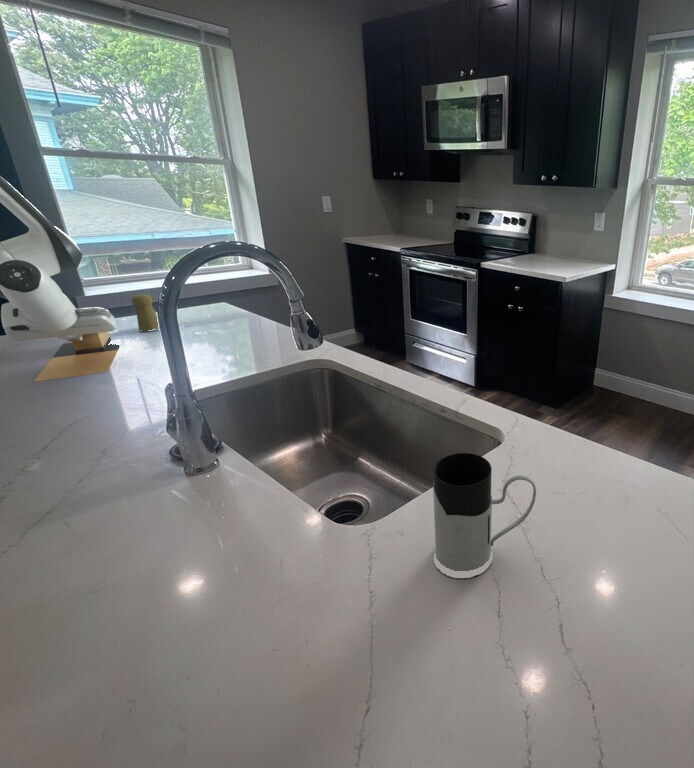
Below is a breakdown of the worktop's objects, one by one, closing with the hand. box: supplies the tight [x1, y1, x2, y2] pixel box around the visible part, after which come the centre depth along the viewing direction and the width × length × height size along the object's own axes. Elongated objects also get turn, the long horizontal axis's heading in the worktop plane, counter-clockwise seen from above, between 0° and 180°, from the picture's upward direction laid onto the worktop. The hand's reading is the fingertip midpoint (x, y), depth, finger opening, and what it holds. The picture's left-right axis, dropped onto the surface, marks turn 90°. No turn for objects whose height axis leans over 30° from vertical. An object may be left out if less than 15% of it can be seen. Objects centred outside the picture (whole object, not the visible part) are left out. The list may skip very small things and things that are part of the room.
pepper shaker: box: [131, 293, 158, 331], centre depth 145 cm, size 6×6×11 cm
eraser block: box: [71, 332, 111, 354], centre depth 131 cm, size 6×10×8 cm, turn 29°
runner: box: [32, 342, 121, 383], centre depth 126 cm, size 14×29×1 cm, turn 30°
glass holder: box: [432, 452, 537, 571], centre depth 64 cm, size 9×14×15 cm, turn 93°
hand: (75, 338), depth 123 cm, fingers closed
